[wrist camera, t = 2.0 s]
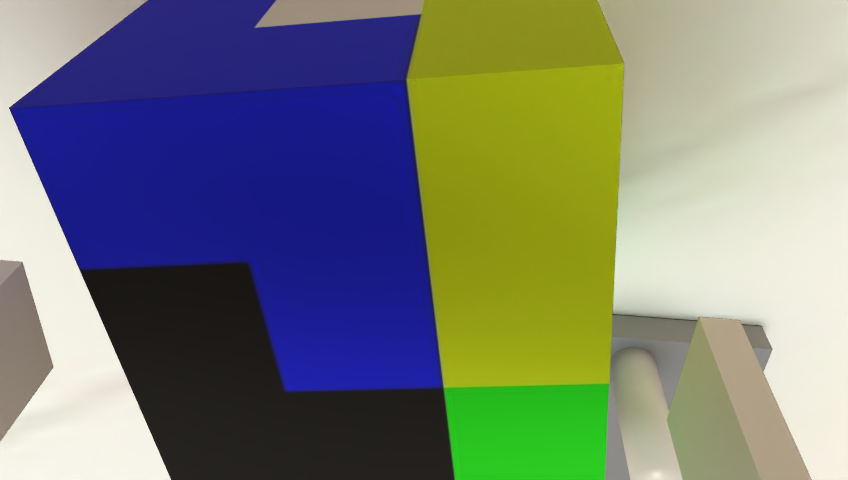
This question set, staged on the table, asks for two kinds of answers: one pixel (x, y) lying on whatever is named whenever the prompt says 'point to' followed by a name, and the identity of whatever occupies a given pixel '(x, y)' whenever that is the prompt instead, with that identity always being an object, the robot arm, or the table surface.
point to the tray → (668, 372)
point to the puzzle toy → (348, 231)
